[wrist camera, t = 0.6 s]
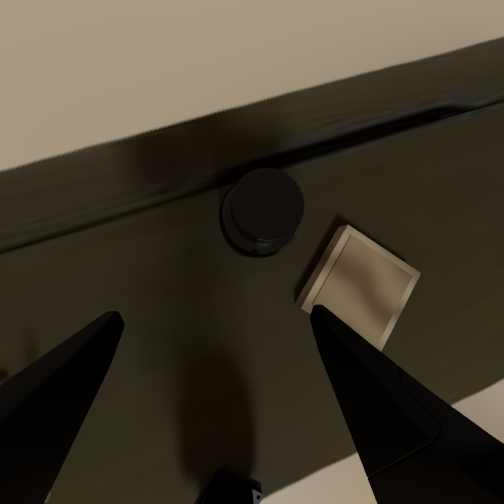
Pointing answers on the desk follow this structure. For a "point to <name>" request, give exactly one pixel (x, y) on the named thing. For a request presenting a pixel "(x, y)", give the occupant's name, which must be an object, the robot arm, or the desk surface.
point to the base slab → (360, 285)
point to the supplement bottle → (261, 213)
